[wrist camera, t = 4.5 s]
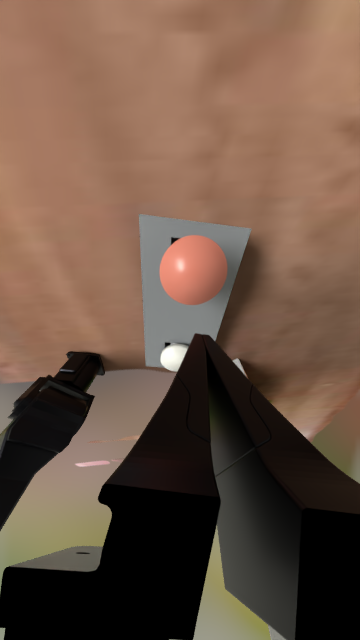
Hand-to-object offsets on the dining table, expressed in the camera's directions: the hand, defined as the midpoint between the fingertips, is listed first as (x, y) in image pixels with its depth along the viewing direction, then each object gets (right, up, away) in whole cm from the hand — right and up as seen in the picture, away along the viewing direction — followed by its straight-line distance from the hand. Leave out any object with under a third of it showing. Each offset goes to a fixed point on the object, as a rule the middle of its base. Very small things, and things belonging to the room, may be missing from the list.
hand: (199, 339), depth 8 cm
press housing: (-1, +4, +14) cm, 14 cm away
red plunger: (0, +7, +6) cm, 10 cm away
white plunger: (-1, -2, +16) cm, 16 cm away
